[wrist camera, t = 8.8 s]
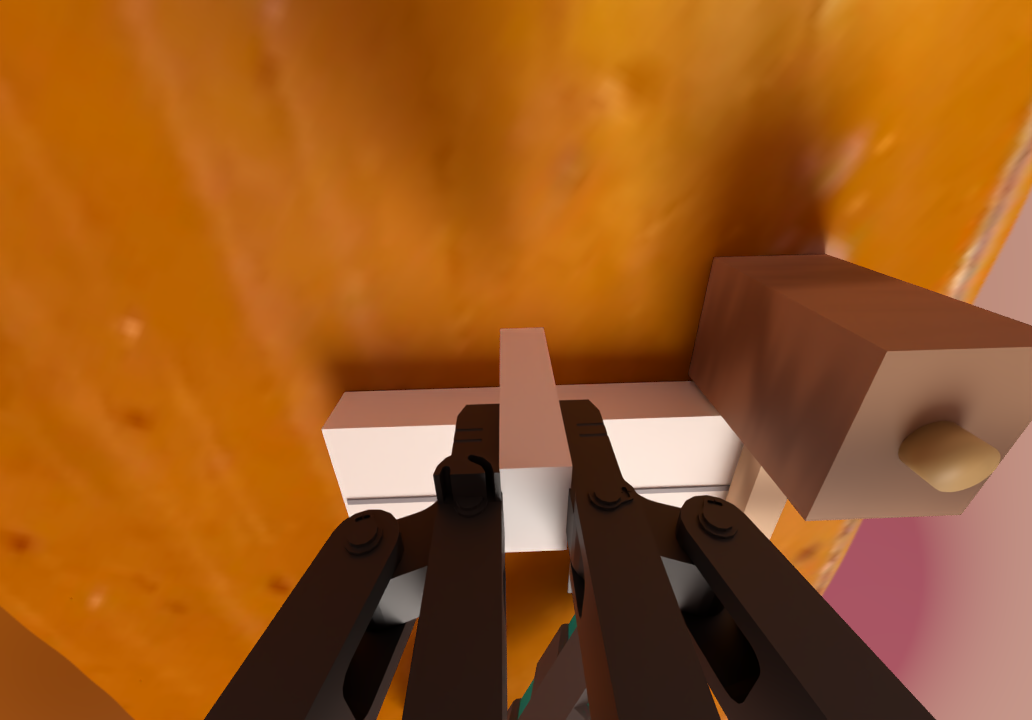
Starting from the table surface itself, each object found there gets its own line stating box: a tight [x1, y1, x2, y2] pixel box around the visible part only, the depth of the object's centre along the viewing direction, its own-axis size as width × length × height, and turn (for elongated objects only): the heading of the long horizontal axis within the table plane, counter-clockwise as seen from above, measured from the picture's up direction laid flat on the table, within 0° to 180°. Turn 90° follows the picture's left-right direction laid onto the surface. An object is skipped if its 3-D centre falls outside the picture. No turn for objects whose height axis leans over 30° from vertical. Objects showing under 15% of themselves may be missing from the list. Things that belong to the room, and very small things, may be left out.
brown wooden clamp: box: [688, 254, 1032, 540], centre depth 17 cm, size 15×5×10 cm, turn 1°
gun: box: [507, 615, 591, 720], centre depth 29 cm, size 7×29×15 cm, turn 148°
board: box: [322, 381, 744, 519], centre depth 21 cm, size 8×22×3 cm, turn 91°
